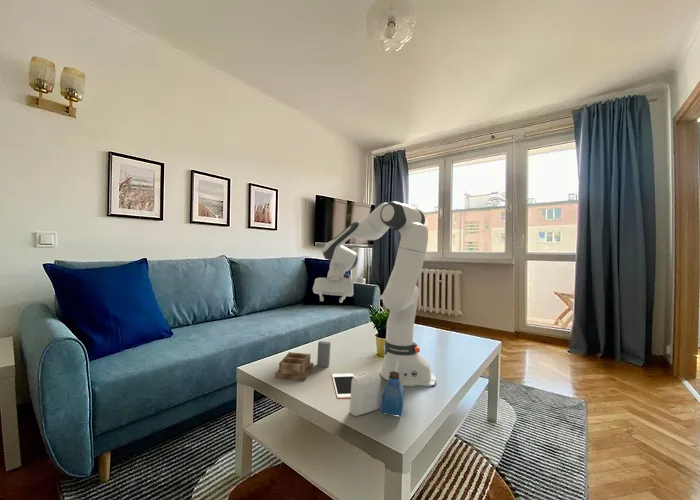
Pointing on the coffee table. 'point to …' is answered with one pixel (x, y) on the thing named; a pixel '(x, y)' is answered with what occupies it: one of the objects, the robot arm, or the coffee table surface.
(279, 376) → the box
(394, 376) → the perfume bottle
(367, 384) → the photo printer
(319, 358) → the charcoal card
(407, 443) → the coffee table surface
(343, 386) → the cell phone
